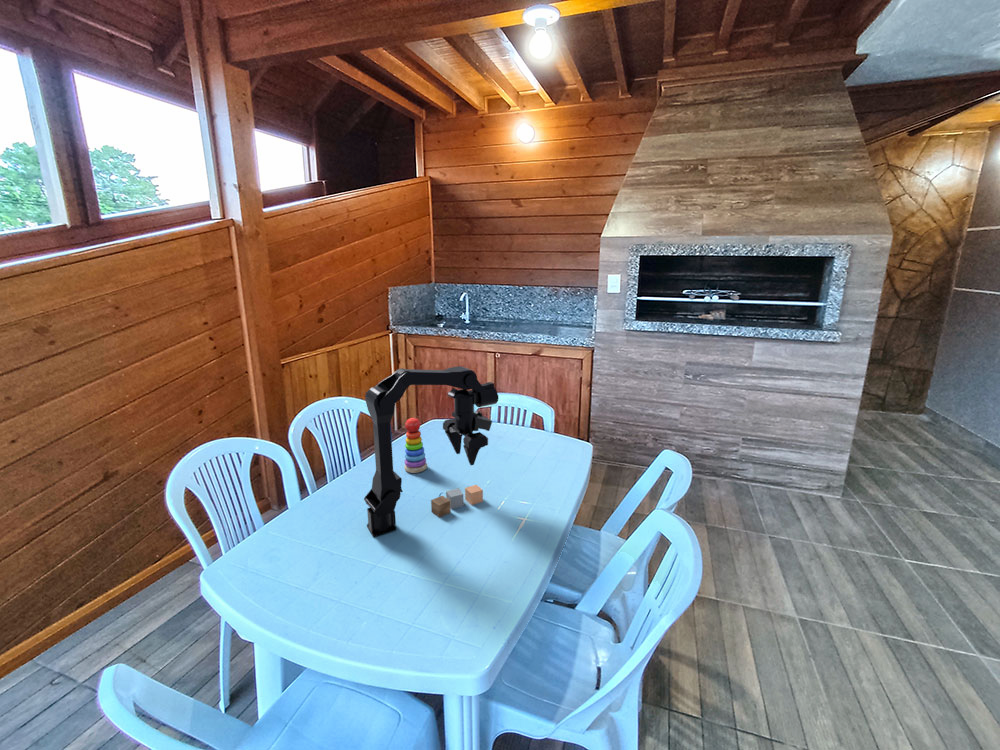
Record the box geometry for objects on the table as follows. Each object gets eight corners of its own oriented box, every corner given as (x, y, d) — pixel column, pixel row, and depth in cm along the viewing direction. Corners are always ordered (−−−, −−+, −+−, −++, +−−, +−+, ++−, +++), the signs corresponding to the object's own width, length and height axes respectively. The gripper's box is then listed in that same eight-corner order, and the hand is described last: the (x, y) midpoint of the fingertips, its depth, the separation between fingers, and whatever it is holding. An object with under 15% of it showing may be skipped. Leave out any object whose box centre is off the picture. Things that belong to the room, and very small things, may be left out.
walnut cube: (439, 517, 136) (438, 505, 135) (431, 512, 139) (431, 500, 138) (450, 512, 139) (450, 500, 138) (442, 507, 142) (442, 495, 141)
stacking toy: (429, 464, 170) (427, 414, 166) (424, 474, 163) (421, 423, 158) (408, 463, 171) (405, 414, 166) (401, 473, 163) (398, 422, 159)
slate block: (451, 509, 141) (450, 497, 140) (446, 503, 144) (446, 491, 143) (463, 506, 143) (463, 494, 142) (458, 500, 146) (458, 488, 145)
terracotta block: (471, 505, 143) (471, 493, 142) (465, 499, 146) (464, 487, 145) (482, 501, 145) (482, 489, 144) (476, 496, 148) (476, 484, 147)
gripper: (504, 414, 135) (503, 465, 139) (473, 397, 150) (474, 443, 154) (469, 421, 129) (469, 473, 133) (441, 403, 145) (442, 450, 149)
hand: (464, 459), depth 142 cm, fingers open, 9 cm apart
